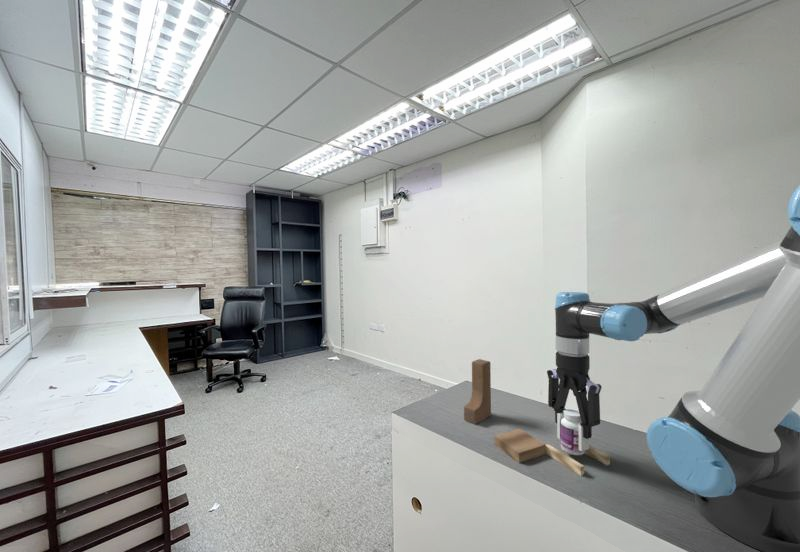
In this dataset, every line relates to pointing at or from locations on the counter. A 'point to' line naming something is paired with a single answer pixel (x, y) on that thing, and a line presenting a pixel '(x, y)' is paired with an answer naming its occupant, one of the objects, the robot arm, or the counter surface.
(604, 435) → the counter surface
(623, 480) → the counter surface
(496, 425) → the counter surface
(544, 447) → the pedestal
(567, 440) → the pill bottle
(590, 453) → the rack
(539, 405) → the counter surface
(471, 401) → the wooden block
